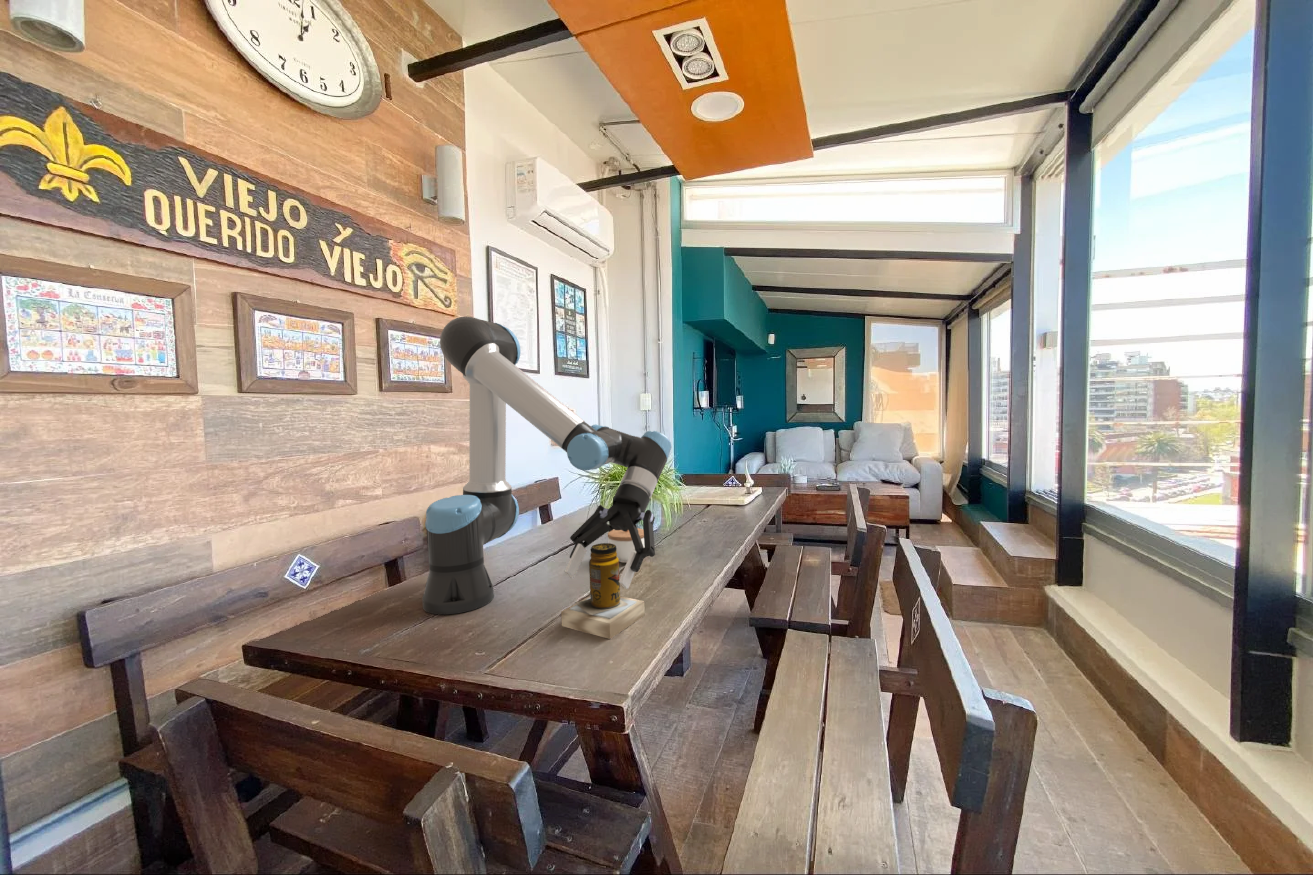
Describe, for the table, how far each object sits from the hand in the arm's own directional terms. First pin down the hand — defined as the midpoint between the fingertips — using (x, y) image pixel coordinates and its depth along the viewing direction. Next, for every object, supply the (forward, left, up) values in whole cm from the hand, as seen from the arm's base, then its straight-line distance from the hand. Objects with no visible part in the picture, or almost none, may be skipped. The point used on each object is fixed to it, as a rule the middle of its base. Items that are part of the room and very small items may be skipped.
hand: (595, 580), depth 102 cm
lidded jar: (-19, +38, -9) cm, 44 cm away
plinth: (0, +2, -9) cm, 9 cm away
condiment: (0, +2, -6) cm, 6 cm away
